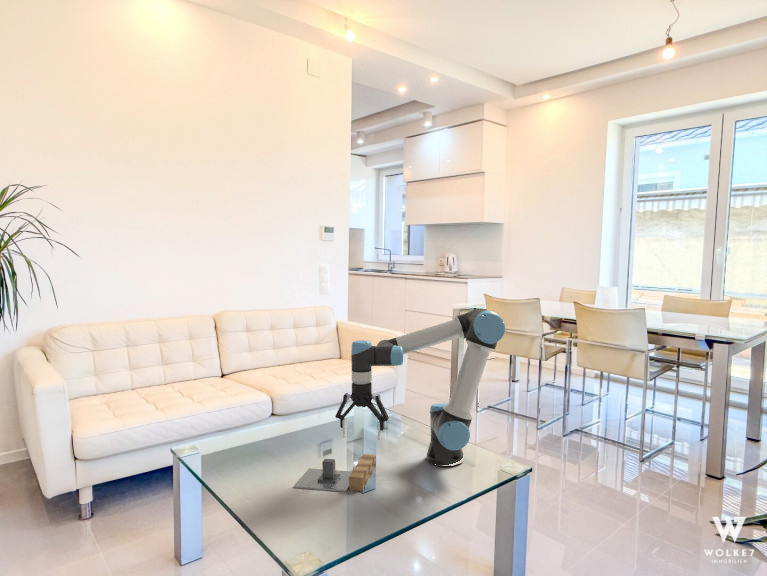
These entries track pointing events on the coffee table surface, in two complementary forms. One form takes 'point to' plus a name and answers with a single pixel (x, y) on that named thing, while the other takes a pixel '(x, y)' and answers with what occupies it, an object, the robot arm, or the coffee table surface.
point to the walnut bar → (362, 472)
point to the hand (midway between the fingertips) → (362, 437)
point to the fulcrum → (325, 478)
